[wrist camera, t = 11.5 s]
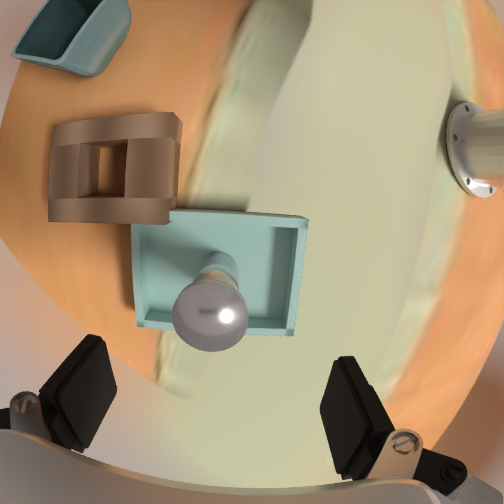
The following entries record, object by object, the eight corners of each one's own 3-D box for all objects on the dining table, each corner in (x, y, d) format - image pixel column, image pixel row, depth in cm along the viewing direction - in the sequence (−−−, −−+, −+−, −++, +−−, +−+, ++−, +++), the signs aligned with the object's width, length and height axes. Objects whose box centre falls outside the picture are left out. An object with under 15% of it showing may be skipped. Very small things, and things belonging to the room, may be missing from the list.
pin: (245, 247, 25) (251, 285, 15) (242, 295, 26) (245, 353, 16) (194, 244, 25) (170, 280, 15) (193, 292, 26) (173, 348, 16)
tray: (301, 215, 25) (308, 219, 23) (288, 322, 28) (293, 336, 25) (141, 207, 24) (130, 209, 21) (144, 314, 27) (137, 326, 24)
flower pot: (54, 78, 20) (7, 56, 11) (94, 17, 18) (60, -18, 9) (105, 94, 21) (58, 65, 12) (149, 27, 19) (123, -19, 11)
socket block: (182, 122, 22) (173, 112, 19) (176, 219, 25) (165, 225, 21) (74, 131, 22) (53, 125, 18) (70, 216, 24) (48, 221, 20)
